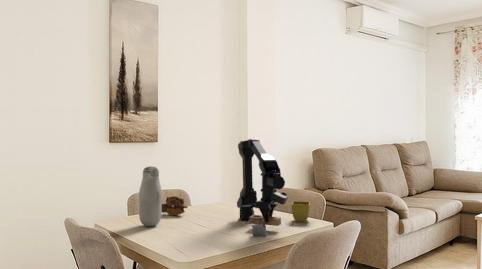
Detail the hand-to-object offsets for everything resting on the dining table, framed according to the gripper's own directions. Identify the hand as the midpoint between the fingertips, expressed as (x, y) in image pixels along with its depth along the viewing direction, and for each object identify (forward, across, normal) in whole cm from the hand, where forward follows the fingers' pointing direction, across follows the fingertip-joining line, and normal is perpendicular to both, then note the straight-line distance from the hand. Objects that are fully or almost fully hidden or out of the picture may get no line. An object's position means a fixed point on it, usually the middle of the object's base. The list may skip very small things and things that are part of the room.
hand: (268, 221), depth 184 cm
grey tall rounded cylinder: (+4, -14, +53) cm, 55 cm away
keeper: (+4, -10, +1) cm, 11 cm away
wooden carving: (+4, +12, +58) cm, 59 cm away
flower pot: (+4, +25, -8) cm, 27 cm away
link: (+1, 0, +1) cm, 2 cm away
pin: (+4, 0, +5) cm, 7 cm away
